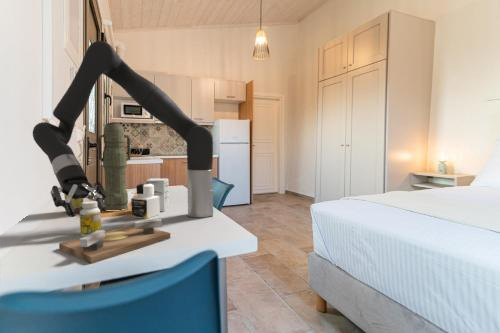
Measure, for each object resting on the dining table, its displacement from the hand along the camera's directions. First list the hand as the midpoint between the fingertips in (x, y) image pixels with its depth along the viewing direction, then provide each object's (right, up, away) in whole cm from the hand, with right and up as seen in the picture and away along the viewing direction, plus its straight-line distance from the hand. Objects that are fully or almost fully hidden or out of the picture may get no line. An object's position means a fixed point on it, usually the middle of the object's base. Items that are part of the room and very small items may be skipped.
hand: (88, 212), depth 87 cm
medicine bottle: (+9, -5, +23) cm, 25 cm away
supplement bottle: (+1, -7, 0) cm, 7 cm away
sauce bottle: (-22, -4, +29) cm, 37 cm away
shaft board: (+12, -7, -8) cm, 16 cm away
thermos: (-7, -4, +34) cm, 35 cm away
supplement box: (+10, -4, +33) cm, 35 cm away
